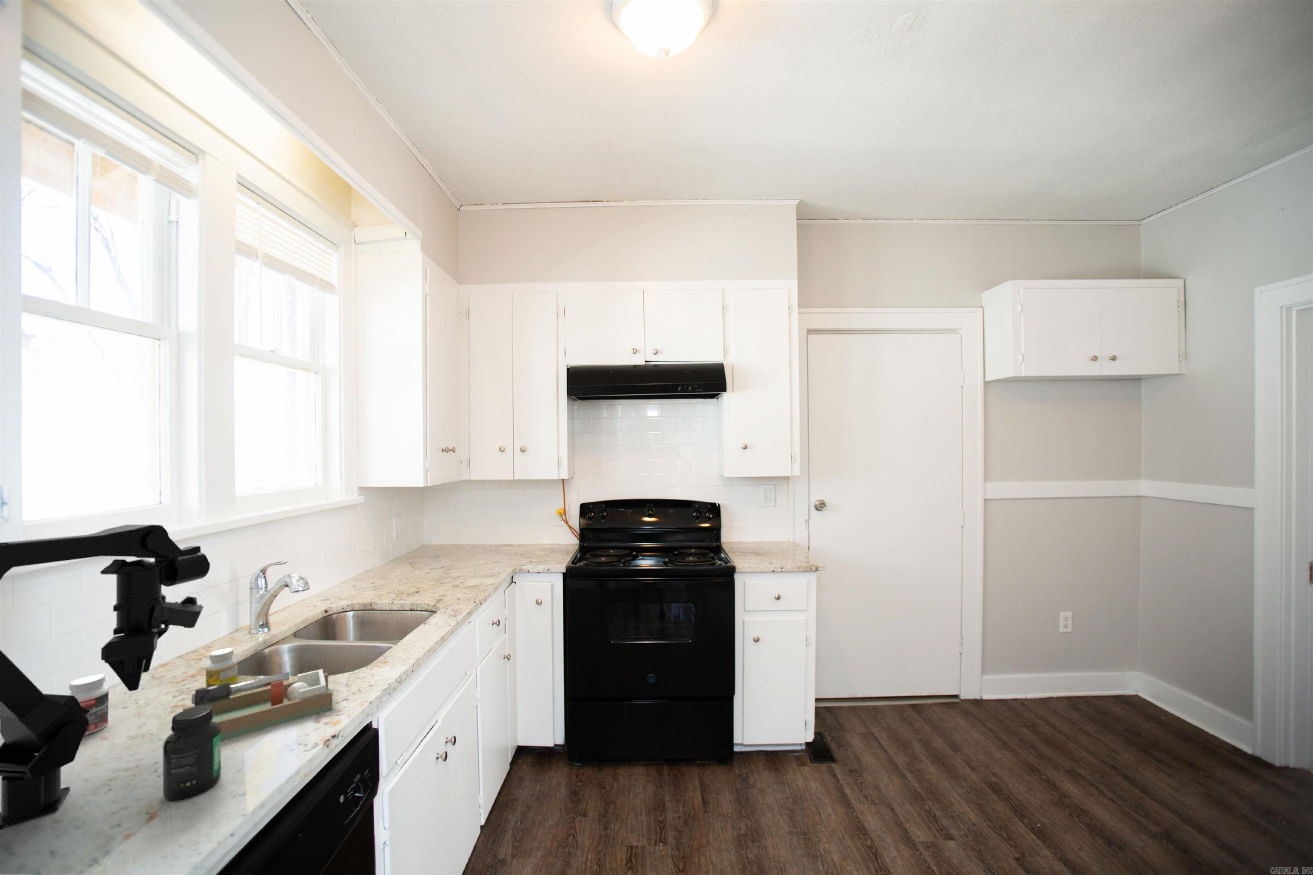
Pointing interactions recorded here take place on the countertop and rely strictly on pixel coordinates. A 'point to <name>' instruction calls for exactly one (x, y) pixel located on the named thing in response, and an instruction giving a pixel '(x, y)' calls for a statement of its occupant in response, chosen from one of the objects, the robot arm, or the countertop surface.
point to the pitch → (264, 710)
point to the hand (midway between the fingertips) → (139, 680)
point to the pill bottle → (92, 700)
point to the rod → (241, 690)
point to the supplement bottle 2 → (221, 668)
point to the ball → (295, 691)
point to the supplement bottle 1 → (191, 754)
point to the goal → (312, 683)
